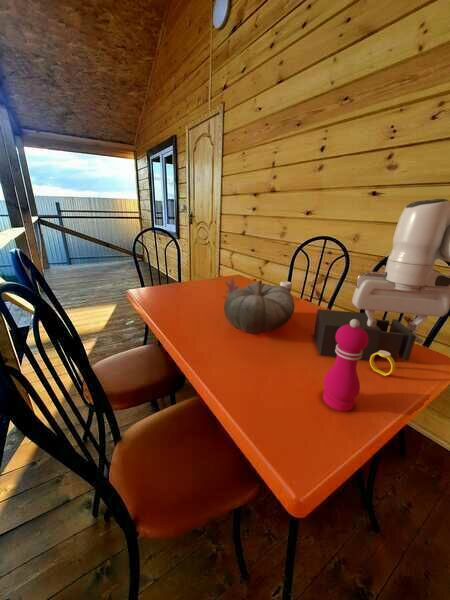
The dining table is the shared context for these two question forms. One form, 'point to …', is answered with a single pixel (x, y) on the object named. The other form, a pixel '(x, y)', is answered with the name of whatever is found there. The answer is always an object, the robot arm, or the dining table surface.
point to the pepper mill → (345, 367)
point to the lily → (231, 286)
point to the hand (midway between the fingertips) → (391, 327)
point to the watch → (386, 355)
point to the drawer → (396, 339)
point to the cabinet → (332, 322)
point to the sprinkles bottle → (286, 285)
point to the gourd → (259, 308)
